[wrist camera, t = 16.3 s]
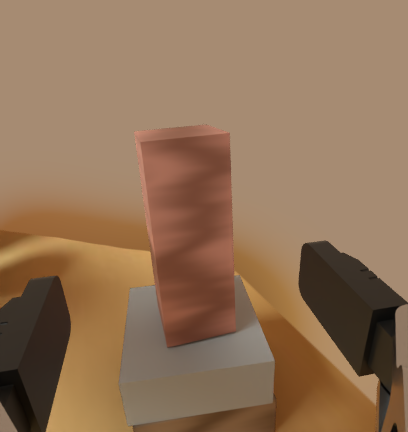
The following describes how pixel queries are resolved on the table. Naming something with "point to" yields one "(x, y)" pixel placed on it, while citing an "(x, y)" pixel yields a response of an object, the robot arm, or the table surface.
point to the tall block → (189, 229)
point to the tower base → (219, 421)
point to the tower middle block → (192, 364)
